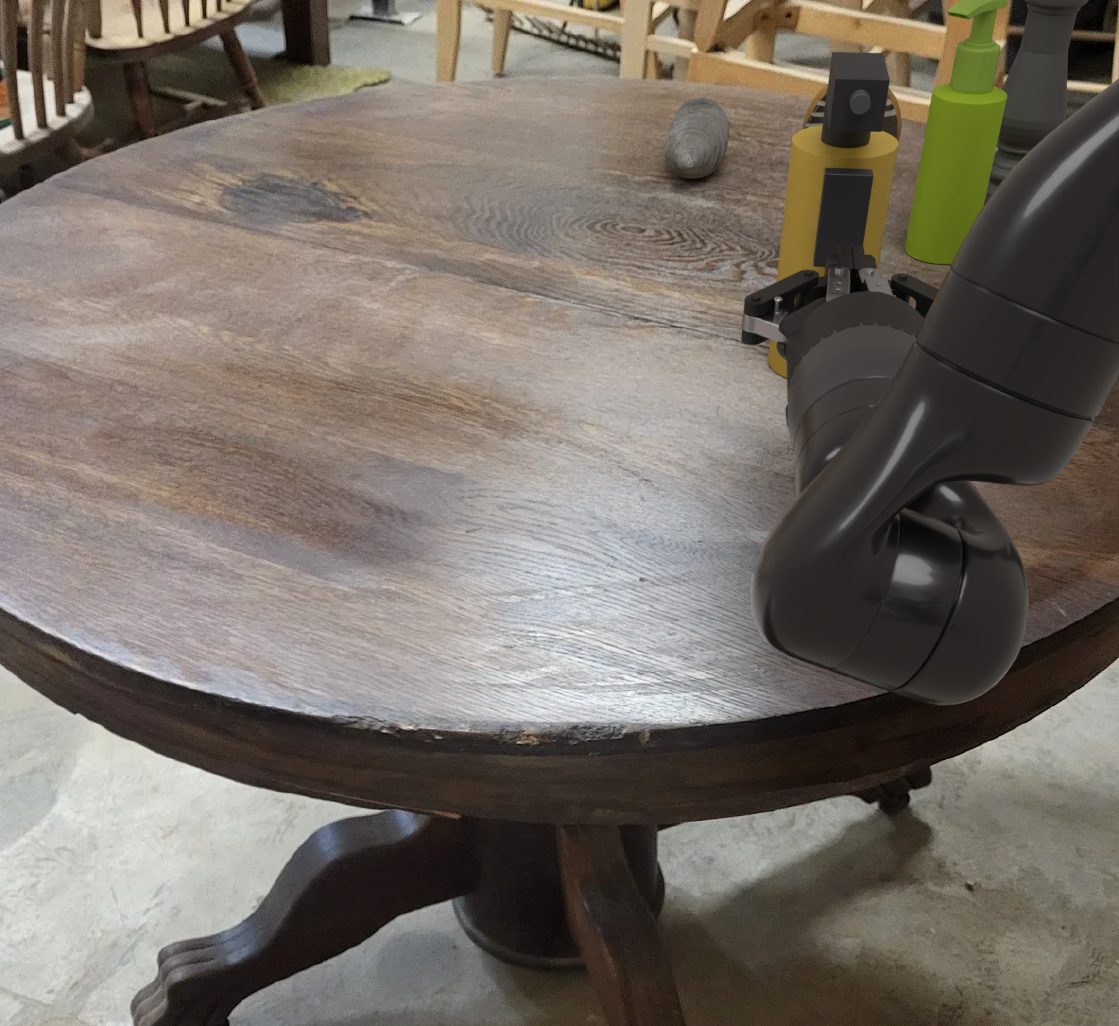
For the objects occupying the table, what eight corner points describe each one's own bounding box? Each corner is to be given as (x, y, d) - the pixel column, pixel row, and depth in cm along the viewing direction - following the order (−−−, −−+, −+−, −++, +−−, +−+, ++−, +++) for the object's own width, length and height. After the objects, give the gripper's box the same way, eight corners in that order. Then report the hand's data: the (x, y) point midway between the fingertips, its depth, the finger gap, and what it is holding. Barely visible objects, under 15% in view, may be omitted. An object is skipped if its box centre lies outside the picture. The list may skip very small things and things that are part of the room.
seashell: (651, 165, 117) (675, 75, 115) (659, 176, 130) (680, 95, 127) (715, 183, 117) (740, 93, 114) (716, 192, 130) (739, 111, 127)
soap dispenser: (883, 253, 108) (926, -1, 95) (930, 233, 111) (977, -15, 98) (940, 273, 104) (992, 12, 91) (986, 252, 108) (1043, -3, 95)
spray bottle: (859, 344, 94) (908, 37, 80) (867, 413, 86) (924, 84, 72) (768, 340, 95) (800, 35, 81) (767, 407, 87) (803, 81, 73)
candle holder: (972, 207, 116) (1037, -103, 100) (1040, 214, 114) (1117, -100, 98) (967, 231, 111) (1034, -90, 95) (1038, 238, 110) (1118, -86, 94)
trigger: (858, 261, 81) (872, 168, 77) (859, 269, 80) (874, 175, 76) (812, 259, 82) (824, 167, 78) (813, 267, 81) (825, 173, 77)
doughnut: (796, 180, 122) (808, 71, 116) (799, 167, 125) (811, 61, 118) (892, 186, 120) (910, 76, 114) (893, 173, 123) (911, 66, 117)
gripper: (1019, 334, 58) (973, 202, 71) (736, 321, 59) (742, 194, 72) (985, 472, 63) (948, 325, 76) (724, 457, 64) (732, 315, 77)
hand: (847, 261), depth 74 cm, fingers closed
